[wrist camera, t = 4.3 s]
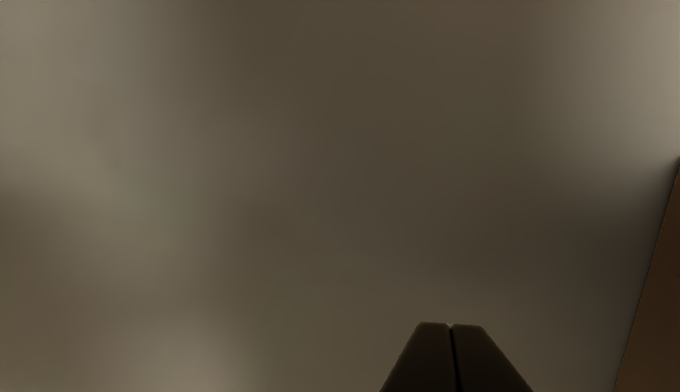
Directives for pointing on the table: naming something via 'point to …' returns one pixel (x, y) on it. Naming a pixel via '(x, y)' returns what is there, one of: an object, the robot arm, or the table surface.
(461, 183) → the table surface
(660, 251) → the walnut block
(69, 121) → the table surface
